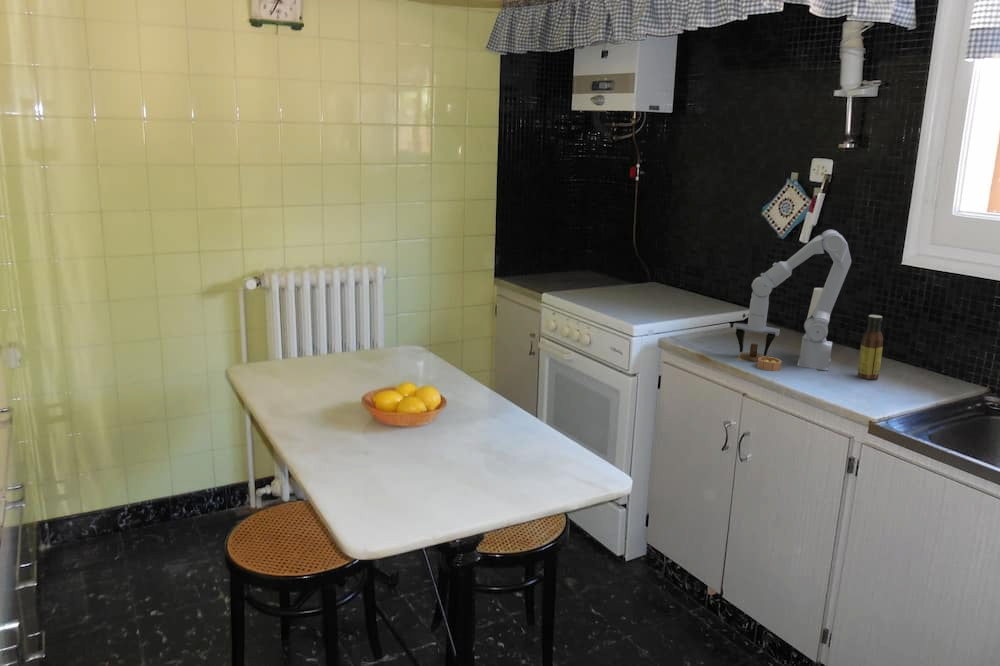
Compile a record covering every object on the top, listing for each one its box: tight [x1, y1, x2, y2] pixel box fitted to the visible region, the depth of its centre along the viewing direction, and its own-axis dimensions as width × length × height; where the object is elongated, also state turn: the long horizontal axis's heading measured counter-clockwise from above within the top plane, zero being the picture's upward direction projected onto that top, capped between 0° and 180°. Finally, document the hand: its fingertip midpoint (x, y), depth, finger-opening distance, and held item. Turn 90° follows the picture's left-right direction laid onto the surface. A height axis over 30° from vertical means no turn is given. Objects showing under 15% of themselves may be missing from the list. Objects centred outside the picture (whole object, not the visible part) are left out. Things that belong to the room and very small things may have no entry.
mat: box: [736, 352, 747, 362], centre depth 265 cm, size 9×8×1 cm
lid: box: [739, 343, 767, 363], centre depth 264 cm, size 8×8×5 cm
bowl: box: [756, 356, 783, 372], centre depth 255 cm, size 7×7×3 cm
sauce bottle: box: [857, 314, 884, 381], centre depth 248 cm, size 6×6×20 cm
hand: (753, 353), depth 264 cm, fingers open, 7 cm apart
